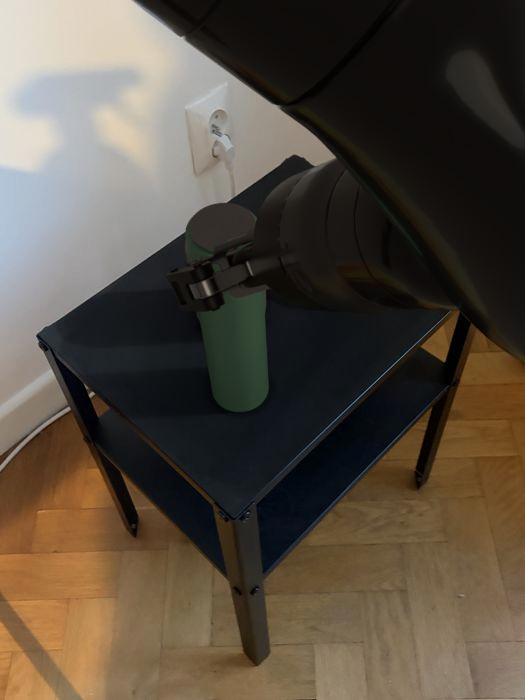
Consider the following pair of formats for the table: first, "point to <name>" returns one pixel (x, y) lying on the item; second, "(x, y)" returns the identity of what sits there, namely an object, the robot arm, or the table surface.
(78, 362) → the table surface
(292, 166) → the table surface
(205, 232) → the slim can
